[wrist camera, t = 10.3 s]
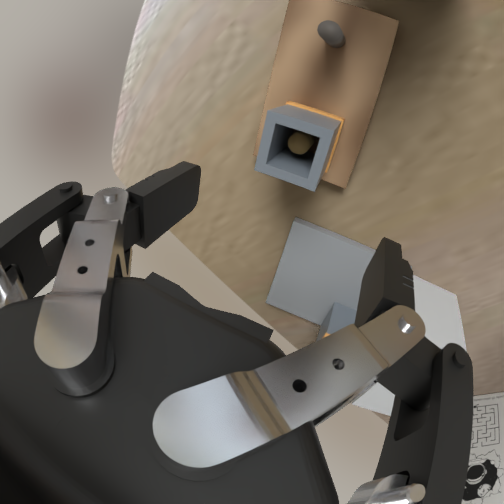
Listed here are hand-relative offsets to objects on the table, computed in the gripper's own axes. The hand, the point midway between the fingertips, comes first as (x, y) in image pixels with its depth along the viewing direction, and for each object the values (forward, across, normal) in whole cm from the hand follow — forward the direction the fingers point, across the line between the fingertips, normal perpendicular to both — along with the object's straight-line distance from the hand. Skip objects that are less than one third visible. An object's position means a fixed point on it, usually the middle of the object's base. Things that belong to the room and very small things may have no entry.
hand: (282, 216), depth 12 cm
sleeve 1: (+17, +3, +1) cm, 18 cm away
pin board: (+19, +3, -4) cm, 20 cm away
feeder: (+19, -10, +18) cm, 28 cm away
